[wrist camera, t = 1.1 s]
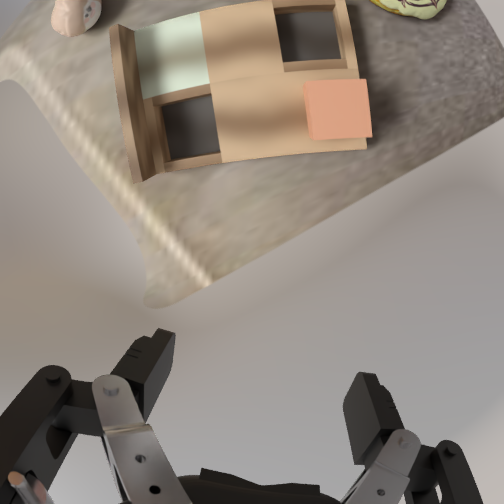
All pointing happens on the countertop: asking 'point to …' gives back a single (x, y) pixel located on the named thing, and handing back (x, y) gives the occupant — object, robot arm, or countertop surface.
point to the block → (337, 109)
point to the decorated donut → (412, 7)
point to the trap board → (228, 83)
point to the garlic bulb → (75, 16)
